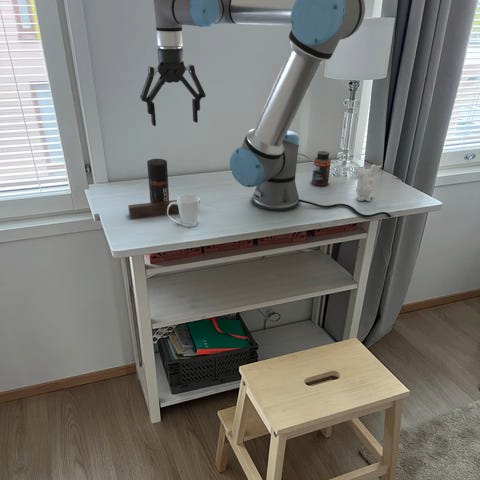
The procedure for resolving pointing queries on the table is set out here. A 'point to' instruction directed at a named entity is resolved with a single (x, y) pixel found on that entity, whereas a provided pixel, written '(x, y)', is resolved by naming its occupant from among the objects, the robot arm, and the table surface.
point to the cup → (187, 209)
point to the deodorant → (158, 180)
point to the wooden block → (152, 209)
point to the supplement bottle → (321, 169)
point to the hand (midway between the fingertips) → (174, 123)
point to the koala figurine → (366, 182)
